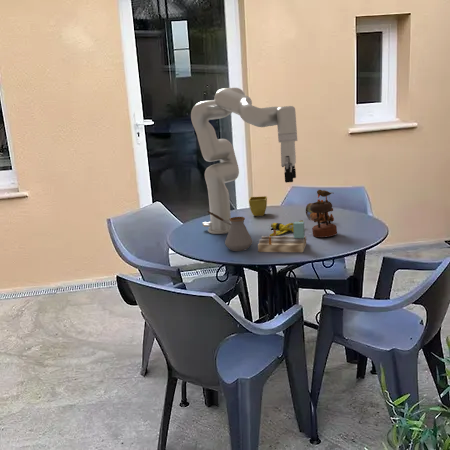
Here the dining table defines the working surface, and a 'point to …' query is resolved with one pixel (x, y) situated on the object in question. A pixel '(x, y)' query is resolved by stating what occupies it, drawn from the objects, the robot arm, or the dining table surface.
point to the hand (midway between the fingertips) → (290, 180)
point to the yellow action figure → (282, 228)
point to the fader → (299, 230)
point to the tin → (312, 215)
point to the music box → (319, 208)
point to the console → (281, 244)
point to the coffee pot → (236, 234)
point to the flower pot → (258, 205)
